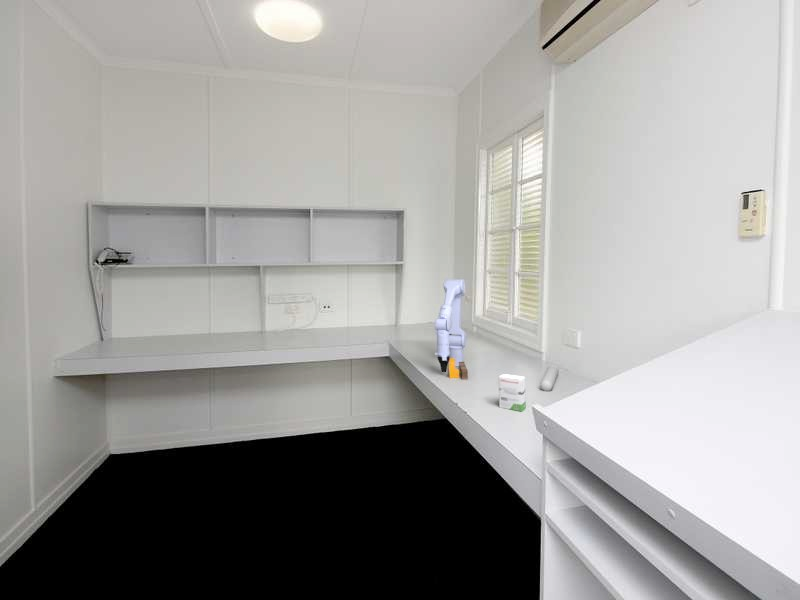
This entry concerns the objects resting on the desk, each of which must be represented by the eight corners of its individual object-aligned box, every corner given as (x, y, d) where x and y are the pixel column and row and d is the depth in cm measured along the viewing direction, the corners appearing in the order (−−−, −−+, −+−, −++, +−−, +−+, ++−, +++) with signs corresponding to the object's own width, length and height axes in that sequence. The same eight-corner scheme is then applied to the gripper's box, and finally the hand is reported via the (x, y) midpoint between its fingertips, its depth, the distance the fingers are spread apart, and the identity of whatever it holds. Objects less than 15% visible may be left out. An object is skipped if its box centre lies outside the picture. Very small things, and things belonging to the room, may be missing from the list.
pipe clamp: (459, 378, 186) (458, 364, 185) (449, 378, 187) (449, 364, 186) (458, 370, 198) (458, 358, 197) (449, 371, 198) (449, 358, 198)
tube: (554, 383, 162) (560, 367, 184) (541, 378, 164) (548, 362, 186) (550, 395, 163) (556, 377, 185) (536, 390, 165) (544, 373, 187)
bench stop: (459, 369, 199) (459, 361, 199) (464, 369, 199) (463, 361, 199) (462, 379, 184) (462, 370, 183) (467, 379, 183) (467, 370, 183)
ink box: (526, 407, 147) (526, 376, 146) (521, 412, 143) (521, 379, 142) (503, 403, 153) (503, 372, 151) (498, 407, 149) (498, 376, 147)
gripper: (433, 340, 198) (434, 367, 199) (435, 347, 183) (436, 376, 185) (448, 340, 197) (449, 367, 199) (450, 346, 183) (451, 376, 184)
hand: (443, 371), depth 192 cm, fingers closed
